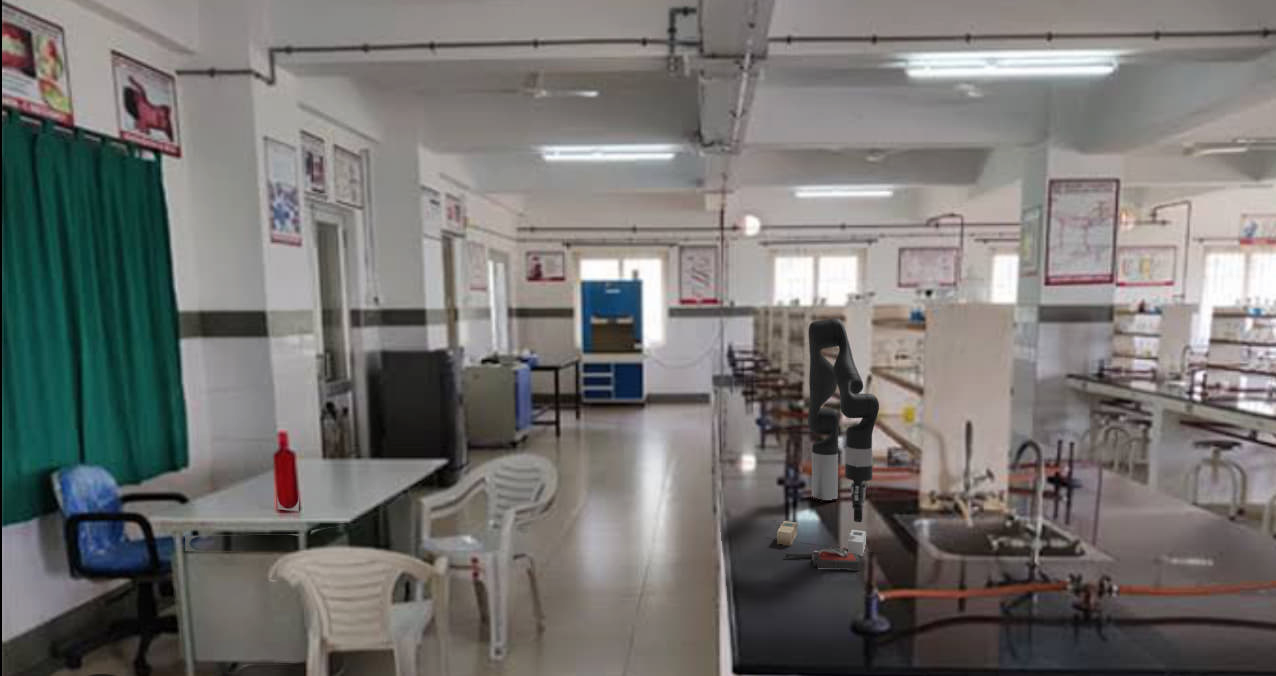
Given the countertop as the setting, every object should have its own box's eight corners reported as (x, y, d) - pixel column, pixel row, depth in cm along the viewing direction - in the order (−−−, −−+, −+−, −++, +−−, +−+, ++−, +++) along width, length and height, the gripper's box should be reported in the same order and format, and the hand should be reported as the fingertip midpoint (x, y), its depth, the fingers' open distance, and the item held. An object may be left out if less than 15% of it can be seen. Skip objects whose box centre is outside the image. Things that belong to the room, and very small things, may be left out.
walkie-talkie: (857, 559, 183) (784, 557, 184) (857, 544, 182) (784, 542, 184) (865, 572, 174) (789, 570, 176) (865, 556, 174) (789, 553, 175)
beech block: (784, 520, 202) (777, 530, 193) (797, 522, 200) (790, 532, 191) (783, 533, 202) (777, 544, 193) (797, 535, 200) (790, 546, 191)
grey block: (851, 529, 194) (848, 540, 185) (866, 531, 192) (862, 542, 183) (851, 542, 194) (847, 554, 185) (865, 544, 192) (862, 556, 183)
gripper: (847, 456, 197) (847, 513, 198) (842, 466, 185) (841, 526, 186) (874, 458, 194) (873, 516, 195) (870, 468, 182) (869, 530, 182)
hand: (858, 521), depth 190 cm, fingers closed
